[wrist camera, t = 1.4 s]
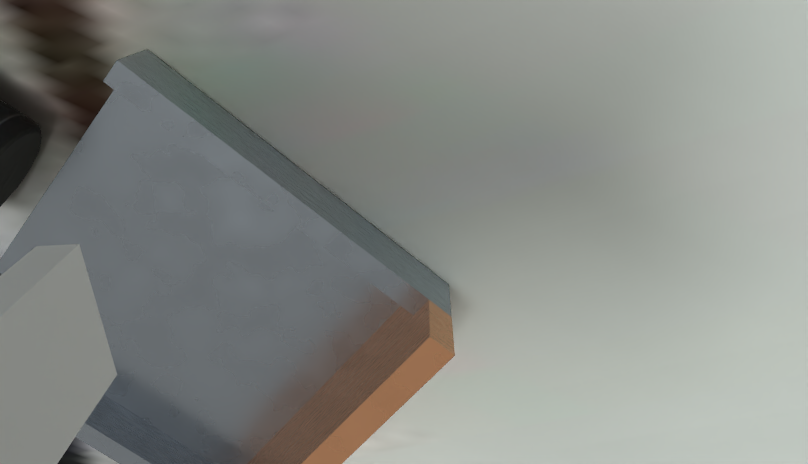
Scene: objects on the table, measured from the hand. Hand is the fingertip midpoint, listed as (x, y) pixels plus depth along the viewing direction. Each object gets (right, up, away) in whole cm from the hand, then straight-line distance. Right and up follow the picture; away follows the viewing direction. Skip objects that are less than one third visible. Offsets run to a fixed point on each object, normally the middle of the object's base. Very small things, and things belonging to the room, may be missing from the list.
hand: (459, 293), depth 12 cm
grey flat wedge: (-13, -2, +26) cm, 29 cm away
